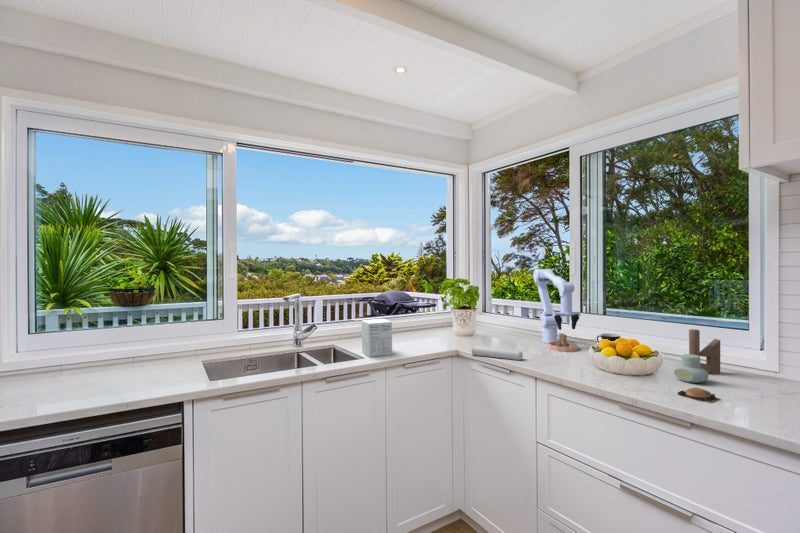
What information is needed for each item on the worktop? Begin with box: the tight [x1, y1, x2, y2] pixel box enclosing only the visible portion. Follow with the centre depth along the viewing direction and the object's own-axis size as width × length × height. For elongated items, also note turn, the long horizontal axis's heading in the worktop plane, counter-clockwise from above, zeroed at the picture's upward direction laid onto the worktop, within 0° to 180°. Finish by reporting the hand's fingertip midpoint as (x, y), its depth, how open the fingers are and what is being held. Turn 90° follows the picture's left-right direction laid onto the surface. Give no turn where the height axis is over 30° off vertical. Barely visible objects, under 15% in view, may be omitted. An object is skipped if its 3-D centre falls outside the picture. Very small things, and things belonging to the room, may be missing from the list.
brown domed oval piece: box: [677, 387, 721, 404], centre depth 136 cm, size 11×8×4 cm
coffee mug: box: [596, 333, 621, 344], centre depth 200 cm, size 12×9×10 cm
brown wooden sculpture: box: [688, 328, 721, 375], centre depth 165 cm, size 4×11×18 cm, turn 80°
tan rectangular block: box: [558, 333, 568, 347], centre depth 214 cm, size 5×2×7 cm, turn 3°
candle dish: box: [547, 340, 579, 353], centre depth 214 cm, size 15×15×3 cm
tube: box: [471, 344, 523, 361], centre depth 197 cm, size 5×5×25 cm
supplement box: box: [361, 318, 393, 358], centre depth 210 cm, size 13×13×18 cm
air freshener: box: [673, 353, 709, 384], centre depth 154 cm, size 11×8×10 cm
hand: (566, 329), depth 215 cm, fingers open, 7 cm apart
